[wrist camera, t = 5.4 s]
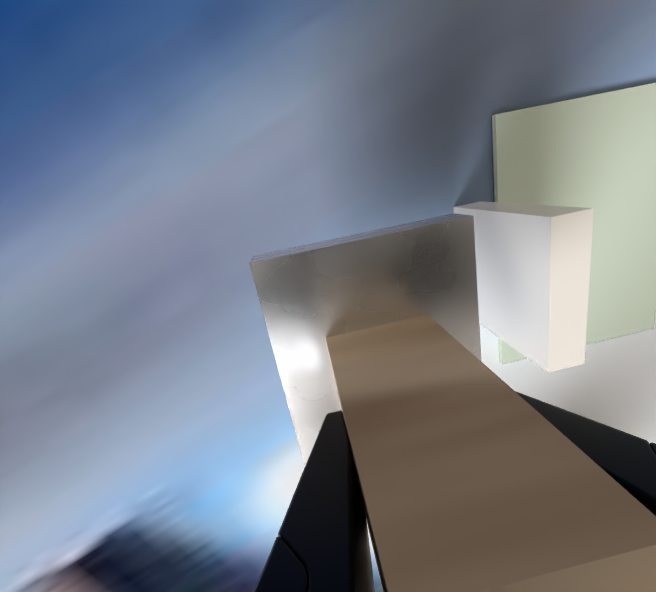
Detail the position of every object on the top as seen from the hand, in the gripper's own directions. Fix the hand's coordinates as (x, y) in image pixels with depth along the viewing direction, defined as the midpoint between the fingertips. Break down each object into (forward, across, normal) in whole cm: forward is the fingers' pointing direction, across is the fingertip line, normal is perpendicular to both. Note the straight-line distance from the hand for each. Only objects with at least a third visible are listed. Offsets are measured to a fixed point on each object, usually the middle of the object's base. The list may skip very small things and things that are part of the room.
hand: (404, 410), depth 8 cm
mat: (+11, -14, 0) cm, 17 cm away
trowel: (+3, 0, 0) cm, 3 cm away
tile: (+11, -7, 0) cm, 13 cm away
